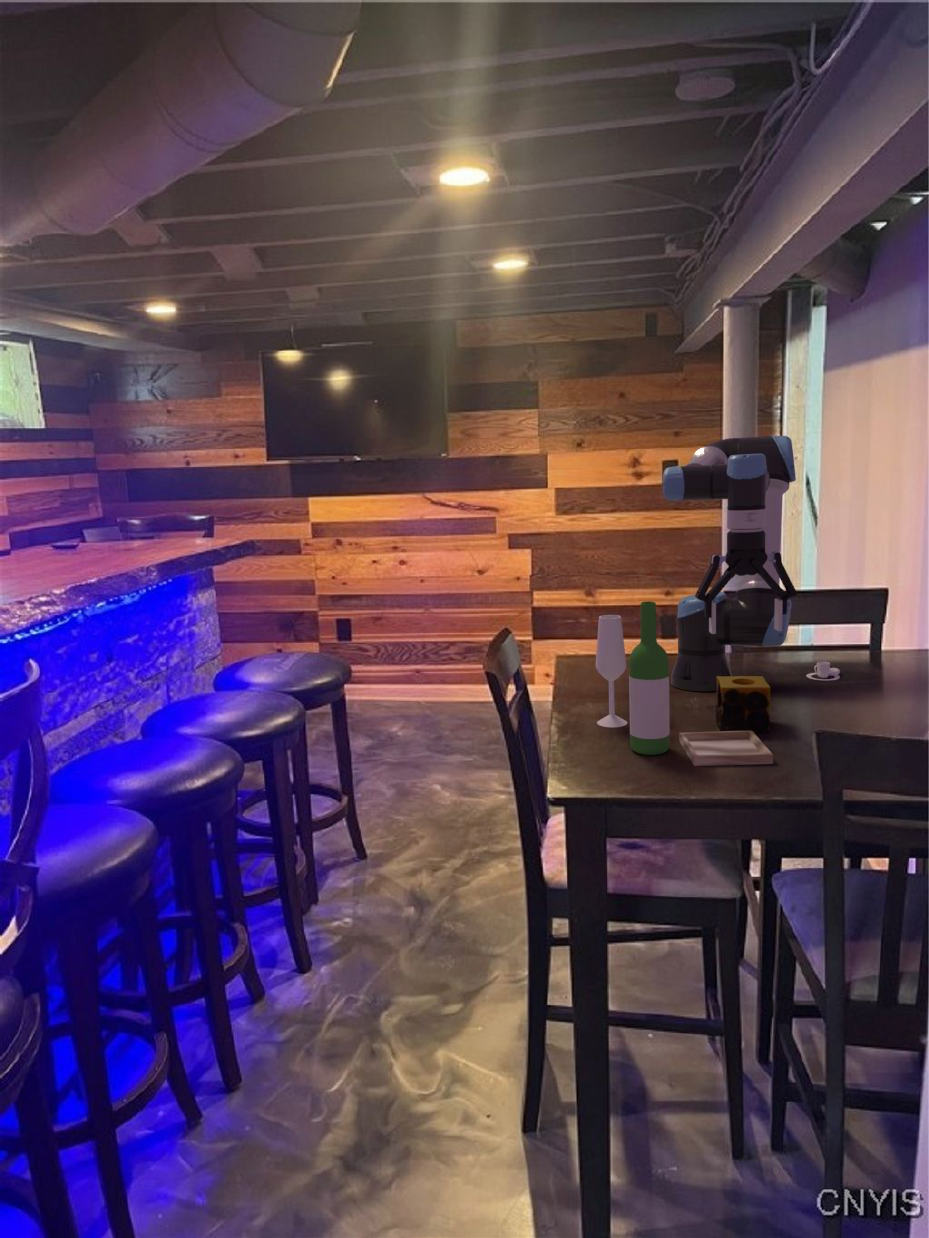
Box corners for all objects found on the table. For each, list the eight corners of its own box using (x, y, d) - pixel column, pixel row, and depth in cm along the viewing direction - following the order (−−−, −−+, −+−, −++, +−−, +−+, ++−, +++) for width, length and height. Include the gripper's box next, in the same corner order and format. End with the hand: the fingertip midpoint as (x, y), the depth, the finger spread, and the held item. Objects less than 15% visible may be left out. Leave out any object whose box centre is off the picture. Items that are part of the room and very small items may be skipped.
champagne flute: (591, 721, 190) (588, 616, 186) (616, 716, 193) (614, 612, 189) (607, 729, 184) (605, 620, 180) (633, 724, 187) (631, 617, 182)
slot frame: (679, 741, 174) (679, 732, 174) (751, 738, 173) (751, 730, 173) (694, 765, 160) (694, 756, 160) (773, 763, 159) (773, 754, 159)
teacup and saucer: (835, 673, 221) (835, 658, 221) (848, 681, 214) (848, 665, 213) (801, 675, 222) (801, 659, 221) (813, 682, 214) (813, 667, 213)
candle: (719, 733, 178) (720, 687, 176) (714, 719, 188) (714, 675, 186) (770, 733, 176) (771, 687, 174) (762, 719, 186) (762, 675, 184)
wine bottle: (645, 759, 165) (643, 607, 159) (622, 747, 172) (619, 602, 167) (677, 752, 168) (677, 602, 162) (654, 741, 175) (652, 598, 170)
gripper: (688, 534, 171) (689, 637, 175) (814, 528, 170) (812, 632, 174) (681, 531, 179) (681, 630, 182) (801, 526, 177) (799, 625, 181)
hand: (745, 631), depth 178 cm, fingers open, 13 cm apart
